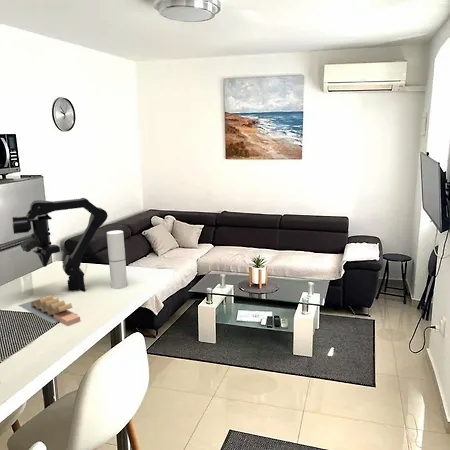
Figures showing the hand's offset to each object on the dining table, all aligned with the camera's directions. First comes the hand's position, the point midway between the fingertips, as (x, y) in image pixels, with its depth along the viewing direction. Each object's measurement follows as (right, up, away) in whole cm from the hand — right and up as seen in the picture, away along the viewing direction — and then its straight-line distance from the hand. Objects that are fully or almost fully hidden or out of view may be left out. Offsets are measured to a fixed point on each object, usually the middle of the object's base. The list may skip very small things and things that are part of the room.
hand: (44, 266), depth 186 cm
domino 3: (+8, -15, -16) cm, 23 cm away
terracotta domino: (+15, -16, -22) cm, 31 cm away
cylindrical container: (+29, -10, +12) cm, 33 cm away
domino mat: (+7, -16, -15) cm, 23 cm away
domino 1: (+1, -14, -10) cm, 17 cm away
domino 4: (+11, -15, -19) cm, 27 cm away
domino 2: (+4, -14, -13) cm, 20 cm away
